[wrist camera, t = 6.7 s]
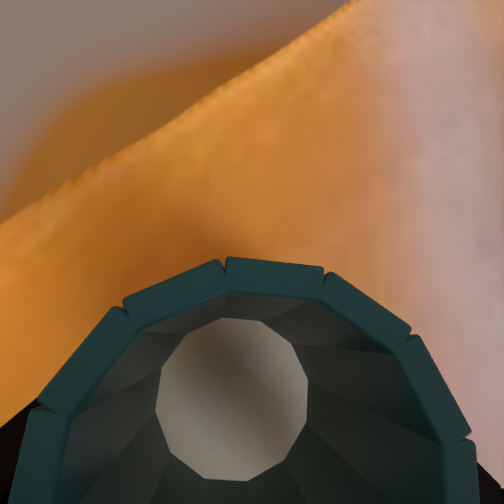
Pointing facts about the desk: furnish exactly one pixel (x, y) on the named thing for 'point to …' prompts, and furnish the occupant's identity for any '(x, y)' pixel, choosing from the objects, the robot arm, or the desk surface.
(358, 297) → the teal cup
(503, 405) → the desk surface
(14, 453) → the robot arm
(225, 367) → the stack
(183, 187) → the desk surface
